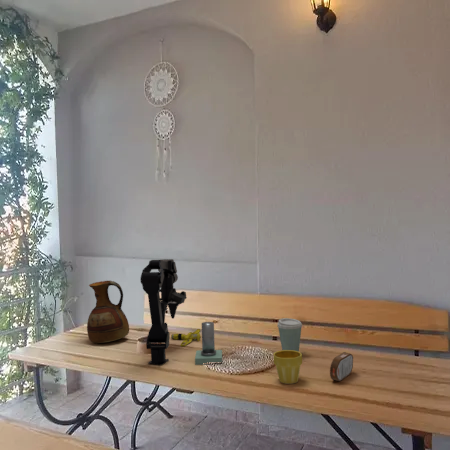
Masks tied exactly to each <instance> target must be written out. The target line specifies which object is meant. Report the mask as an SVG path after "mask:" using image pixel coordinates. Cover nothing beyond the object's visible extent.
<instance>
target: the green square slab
mask: <svg viewBox="0 0 450 450" xmlns="http://www.w3.org/2000/svg"><path fill="white" fill-rule="evenodd" d="M201 351H202V349H201V350H200V349H199V350H196V351H195V355H194V356H195V357H194V365H196V366H198V365H204V364H203V363H207V362H208V363H209V362H222V363H223V350H222V349H215V351H216V355H214V356H202V355H201Z"/></svg>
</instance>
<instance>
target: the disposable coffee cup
mask: <svg viewBox="0 0 450 450" xmlns="http://www.w3.org/2000/svg"><path fill="white" fill-rule="evenodd" d="M302 327H303V323H302V322H301V321H300V320H298V319H294V318H289V317H288V318H287V317H285V318H280V319H278V321H277V329H278V332H279V339H280V345H281V350H294V351H298V352H300V345H301V344H300V343H301V336H302Z"/></svg>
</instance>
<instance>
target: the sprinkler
mask: <svg viewBox="0 0 450 450" xmlns="http://www.w3.org/2000/svg"><path fill="white" fill-rule="evenodd" d="M200 333H201V328H197V329H196V330H195V331H193V332H192V331H191V332H188V333H187V334H185V333H172V334H170V339H171V340H175V341H176V340H177V341H182V342H181V343H180V347H186V346H187V345H188V344H191V342H192V341H197V342H199V341H201V339H202V335H201V334H200Z"/></svg>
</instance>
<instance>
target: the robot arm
mask: <svg viewBox="0 0 450 450" xmlns="http://www.w3.org/2000/svg"><path fill="white" fill-rule="evenodd" d="M152 270H157V271H152ZM177 273H178V270H177V266H176V261H175V260H174V259H172V258H171V259H170V258H169V259H167V258H164V259H150V260H149V262H148V265H146V266H145V267H144V268H143V269H142V272H141V275H140V283H141V286H142V289H143V291H144V293H146V295H147V297H148V298H147V299H148V305H149V306H148V307H149V313H150V314H149V315H150V323H151V327H150V328H149V331H148V334H147V338H146V345H145V346H146V349H147V350H149V349H150V361H148V362H147V364H148V365H157V366H163V365H164V364H166V363H167V362H169V360H170V359H169V358H166V350H167V349H168V348H169V347H170V339H171V334H170V331H169V328H168V323H167V322H166V312H167V310H169V315H170V317H171V319H175V317H176V312H177V309H178V306H179V305H181V304H184V303H185V300H186V299H187V293H186V291H183V290H182V291H181V292H177V289H176V288H175V287H174V284H175V283H176V282H177V281H178V279H179V276H178V274H177Z"/></svg>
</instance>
